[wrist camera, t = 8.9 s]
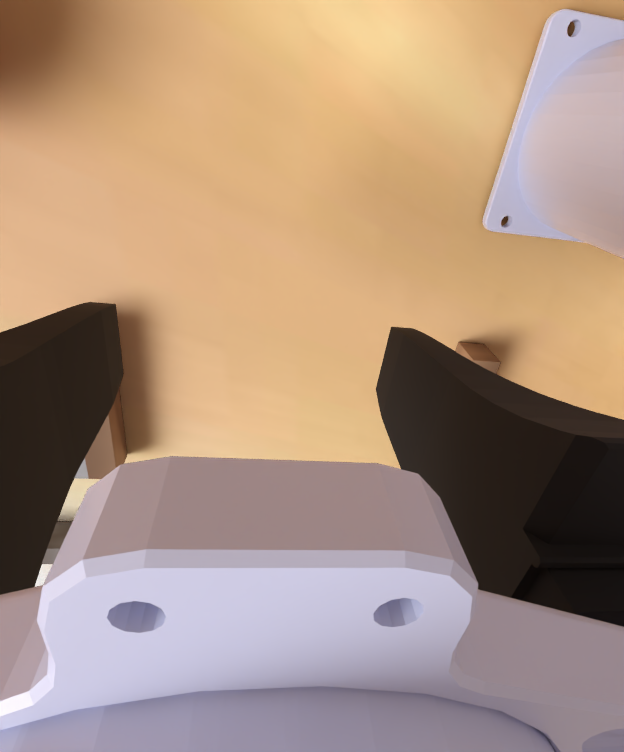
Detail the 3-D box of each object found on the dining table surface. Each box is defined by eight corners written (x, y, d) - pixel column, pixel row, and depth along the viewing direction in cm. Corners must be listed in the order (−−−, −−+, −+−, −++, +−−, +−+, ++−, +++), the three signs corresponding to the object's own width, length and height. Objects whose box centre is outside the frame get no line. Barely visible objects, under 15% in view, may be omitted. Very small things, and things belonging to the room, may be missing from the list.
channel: (484, 344, 24) (505, 367, 22) (384, 608, 37) (391, 639, 35) (-111, 297, 20) (-156, 320, 18) (15, 614, 33) (-2, 649, 31)
